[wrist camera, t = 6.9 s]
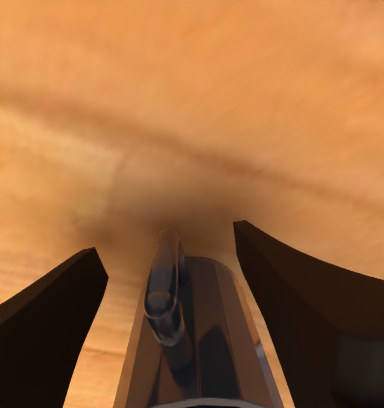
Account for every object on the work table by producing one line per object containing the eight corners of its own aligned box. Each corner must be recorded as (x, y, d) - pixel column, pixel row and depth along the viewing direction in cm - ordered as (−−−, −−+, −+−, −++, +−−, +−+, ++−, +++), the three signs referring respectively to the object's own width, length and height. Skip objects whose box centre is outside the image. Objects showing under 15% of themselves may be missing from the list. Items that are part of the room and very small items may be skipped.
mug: (245, 320, 17) (290, 468, 10) (157, 336, 17) (139, 490, 10) (227, 201, 12) (288, 311, 5) (109, 225, 13) (16, 360, 6)
